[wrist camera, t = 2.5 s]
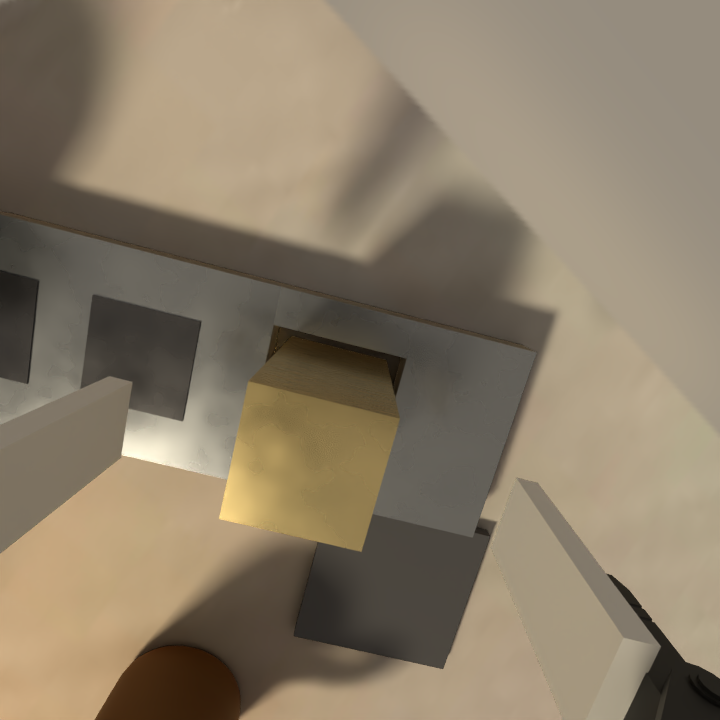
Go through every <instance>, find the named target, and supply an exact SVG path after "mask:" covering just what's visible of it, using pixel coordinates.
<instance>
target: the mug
mask: <svg viewBox="0 0 720 720" xmlns="http://www.w3.org/2000/svg"><path fill="white" fill-rule="evenodd" d="M240 704H241V701H240V692H239V688H238V685H237V682H236V680H235V678H234V676H233V674H232V673H231V672H230V670H229V669H228V668H227V667H226V666H225V665H224V664H223V663H222V662H221V661H220V660H219V659H217V658H216V657H214V656H213V655H211V654H209V653H207V652H205V651H202V650H200V649H197V648H193V647H188V646H165V647H160V648H157V649H154V650H151V651H149V652H147V653H145V654H143V655H142V656H140V657H139V658H137V659H136V660H135V661H134V662H132V663H131V665H130V666H129V667H128V668H127V669H126V670H125V671H124V673H123V674H122V675H121V677H120V678H119V680H118V682H117V683H116V685H115V687H114V688H113V690H112V691H111V693H110V695H109V697H108V698H107V700H106V702H105V703H104V705H103V707H102V708H101V710H100V712H99V713H98V715H97V717H96V718H95V720H239V714H240Z"/></svg>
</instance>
